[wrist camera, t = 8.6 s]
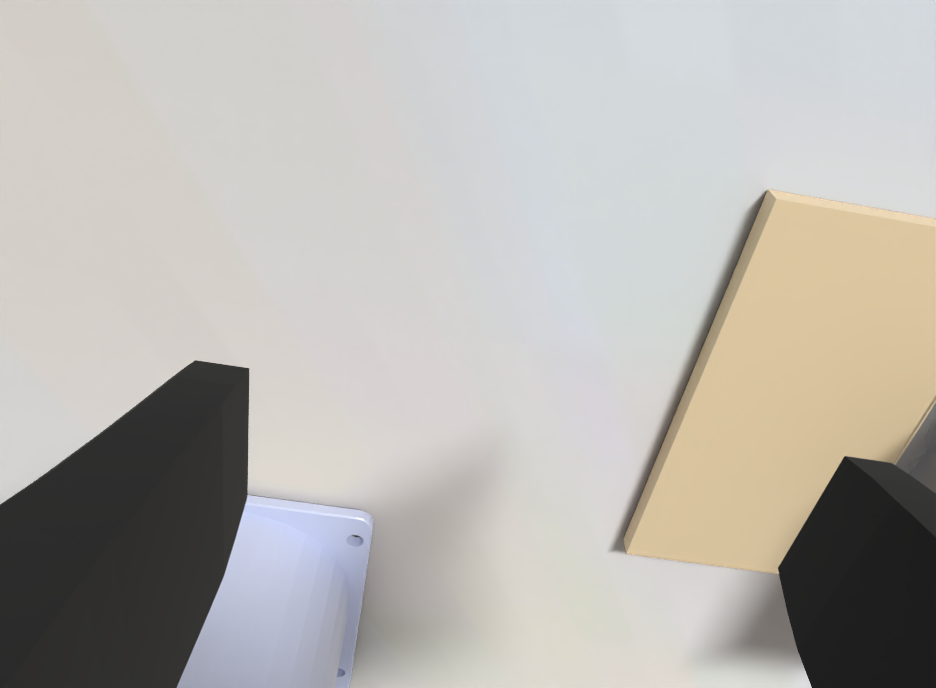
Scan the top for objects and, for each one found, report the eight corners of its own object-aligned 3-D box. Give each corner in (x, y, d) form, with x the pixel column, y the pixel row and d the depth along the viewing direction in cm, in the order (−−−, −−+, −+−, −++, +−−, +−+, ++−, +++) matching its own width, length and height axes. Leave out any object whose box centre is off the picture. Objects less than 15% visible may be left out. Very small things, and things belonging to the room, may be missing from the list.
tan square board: (1023, 592, 25) (1035, 608, 24) (623, 539, 24) (626, 553, 23) (1298, 283, 18) (1322, 294, 18) (767, 189, 17) (776, 198, 17)
